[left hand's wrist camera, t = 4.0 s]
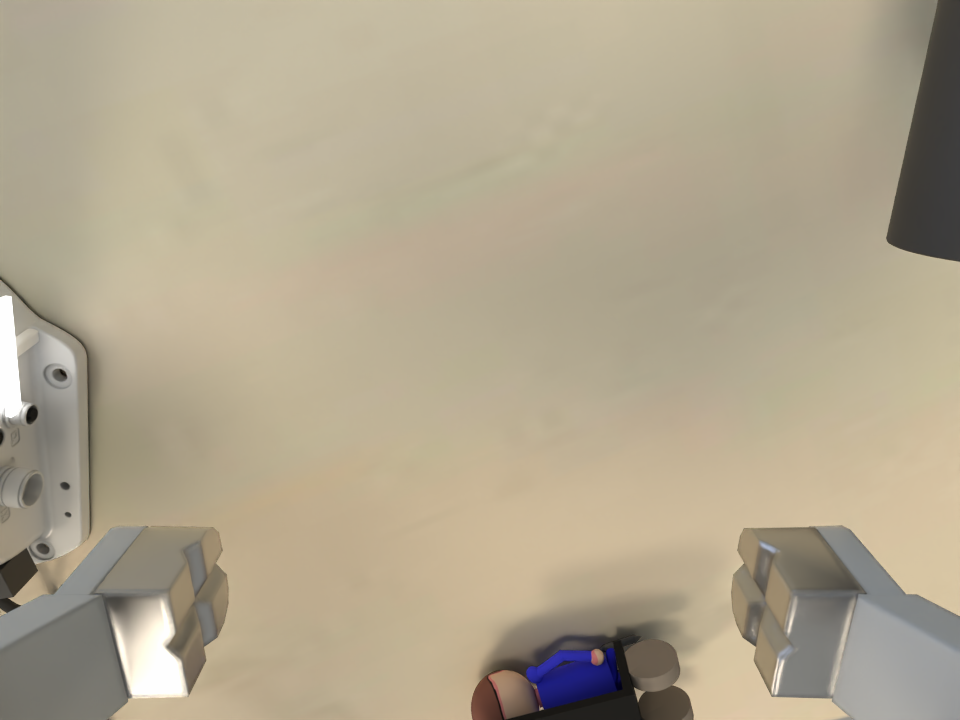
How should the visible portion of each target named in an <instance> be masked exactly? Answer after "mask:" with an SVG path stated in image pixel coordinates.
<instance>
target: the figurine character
mask: <svg viewBox="0 0 960 720" xmlns="http://www.w3.org/2000/svg"><path fill="white" fill-rule="evenodd" d="M641 637H642V636H636V635H631V636H628V637H625V638H622V639H619V640H616V641H613V642H610V643H607V644H604V645H603V646H602V647H601V648H600V649H594V650H592V651H578V650H560V651H559V652H557V653H556V654H554V655H553V656H552V657H550V658H549V659H548V660H546V661H545V662H544V663H542V664H541V665H540V666H538V667H535V666H531V667H529V668H528V669H527V671H526V675H527V678H528V679H529V681H531V682H532V683H535V684H536V685H537V689H535V690H534V688H533V686H532V685H531V683H530V682H529V681H528V680H527V679H526V678H525V677H524V676H522V675H521V674H519V673H517V672H514V671H510V670H498V671H495V672H492V673H490V674H488V675H487V676H485V677H484V678H483V679H482V680H481V681H480V682H479V684H478V685H477V687H476V689H475V691H474V694H473V697H472V702H471V712H472V718H473V720H693V717H694V716H693V711H692V706H691V702H690V699H689V696H688V695H687V693H686V692H685V691H683V690H682V689H680V688H678V687H676V686H672V685H673V684H674V683H675V682H676V680H677V679H678V677H679V675H680V666H679V662H678V658H677V654H676V651H675V649H674V648H673V647H672V646H671V645H670V644H668V643H667V642H664V641H661V640H654V639H651V640H644V641H640V642H638V643H636V642H637V641H638V640H639V639H640V638H641ZM633 643H636V644H634V645H632V646H631V647H630V648H629V649H628V650H627V651H626V652H625V653H624V650H623V647H624V646H627V645H630V644H633ZM614 650H615V651H614ZM603 652H606V657H605V655H604V653H603ZM606 658H607V660H606ZM616 660H617V663H616ZM563 661H575V662H572V663H569V664H566V665H563V666H560V667H557V666H558V665H559V664H561V663H562V662H563ZM617 664H618V670H617ZM555 667H557V668H555ZM634 687H635V688H636V689H639V690H642V691H646V692H645V693H643V695H642V696H641V697H640V699H639V702H638V701H637V698H636V694H635V690H634ZM539 706H540V708H541V707H543V708H544V710H541V711H539Z"/></svg>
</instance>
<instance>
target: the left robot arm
mask: <svg viewBox="0 0 960 720" xmlns="http://www.w3.org/2000/svg"><path fill="white" fill-rule="evenodd" d="M59 369H62V370H64V371H65V372H66V374H67V377H65V376H63V375H62V374H61V373H60V371H59ZM89 530H90V511H89V446H88V381H87V354H86V351H85V349H84V347H83V346H82V344H81V343H80V342H79V341H78V340H77V339H76V338H74V337H73V336H71V335H70V334H68V333H67V332H65V331H63V330H62V329H60V328H58V327H56V326H54V325H53V324H51V323H49V322H47V321H45V320H43V319H41V318H39V317H38V316H37V315H36V314H35V313H33V312H32V311H31V310H30V309H29V308H28V307H27V306H26V305H25V304H24V303H23V302H22V301H21V299H20V298H19V297H18V296H17V295H16V294H15V293H14V292H13V291H12V290H11V289H10V288H9V287H8V286H7V285H6V284H5V283H3V282H2V281H1V280H0V609H2V610H3V611H5V612H6V614H4V615H2V616H0V720H107V719H108V718H110V717H111V716H112V715H113V714H114V713H115V712H117V711H118V710H119V709H120V708H121V707H122V706H124V705H125V704H126V703H127V702H128V698H162V697H188V696H189V694H190V692H191V690H192V688H193V686H194V684H195V682H196V680H197V678H198V676H199V674H200V672H201V670H202V668H203V666H204V664H205V662H206V656H205V650H204V647H205V646H206V645H207V644H209V643H210V642H212V641H213V640H214V639H216V638H217V637H218V635H219V633H220V631H221V628H222V626H223V624H224V621H225V617H226V612H227V608H228V596H229V587H228V581H227V574H226V573H225V572H224V571H223V570H222V569H221V568H220V567H219V566H218V565H217V564H216V562H217V560H218V558H219V556H220V554H221V553H222V551H223V550H222V545H221V540H220V535H219V532H218V531H217V530H216V529H215V528H213V527H173V526H150V527H148V526H118V527H115V528H112V529H110V530H109V531H108V532H107V533H106V535H105V536H104V537H103V538H102V539H101V540H100V542H99V543H98V544H97V545H96V546H95V547H94V548H93V550H92V551H91V552H90V553H89V554H88V555H87V557H86V558H85V559H84V560H83V561H82V562H81V563H80V565H79V566H78V567H77V568H76V569H75V570H74V572H73V573H72V574H71V575H70V576H69V577H68V579H67V580H66V581H65V582H64V583H63V584H62V585H61V587H60V588H59V589H58V590H57V591H56V592H55V594H51V595H41V596H39V597H37V598H35V599H33V600H31V601H30V602H28V603H26V604H24V605H22V606H21V605H18V604H16V603H14V602H13V601H11V600H10V599H8V598H11V597H14V596H15V595H16V594H17V593H18V592H19V591H20V589H21V588H22V587H23V586H24V585H25V584H26V583H27V582H28V581H29V580H30V579H31V578H32V577H33V576H34V574H35V573H36V572H37V571H38V569H37V567H36V565H35V564H38V563H43V562H46V561H50V560H53V559H56V558H59V557H61V556H63V555H66V554H68V553H69V552H71V551H73V550H74V549H76V548H77V547H79V546H80V545H81V544H82V543H83V542H85V541H86V540H87V539H88V537H89ZM44 544H46V545H47V546H48V547H47V546H46V545H44ZM737 551H738V553H739V554H740V556H741V558H742V560H743V562H744V564H743V565H742V566H741V567H740V568H739V569H738V570H737V571H736V572H735V573H734V574H733V582H732V590H731V597H732V609H733V614H734V617H735V621H736V624H737V626H738V629H739V631H740V633H741V635H742V637H743V638H744V639H746V640H747V641H748V642H750V643H751V644H753V645H754V646H755V647H756V650H755V656H754V662H755V664H756V666H757V668H758V670H759V672H760V674H761V676H762V678H763V680H764V682H765V684H766V686H767V688H768V690H769V692H770V694H771V696H772V697H797V698H832V702H833V703H834V704H836V705H837V706H838V707H839V708H840V709H841V710H843V711H844V712H845V713H846V714H847V715H848V716H850V717H851V718H852V719H853V720H960V616H958V615H956V614H954V613H952V612H950V611H948V610H946V609H944V608H942V607H940V606H938V605H936V604H934V603H932V602H930V601H929V600H927V599H925V598H923V597H921V596H919V595H909V594H905V592H904V591H903V590H902V589H901V588H900V587H899V585H898V584H897V583H896V582H895V581H894V580H893V579H892V577H891V576H890V575H889V574H888V573H887V572H886V570H885V569H884V568H883V567H882V566H881V565H880V564H879V562H878V561H877V560H876V559H875V558H874V557H873V555H872V554H871V553H870V552H869V551H868V550H867V548H866V547H865V546H864V545H863V544H862V543H861V542H860V540H859V539H858V538H857V537H856V536H855V535H854V533H853V532H852V531H851V530H850V529H848V528H846V527H844V526H842V525H841V526H810V527H794V528H744V529H743V531H742V533H741V535H740V539H739V544H738V550H737Z"/></svg>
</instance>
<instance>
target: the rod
mask: <svg viewBox="0 0 960 720" xmlns="http://www.w3.org/2000/svg"><path fill="white" fill-rule="evenodd" d="M886 239H887V242H888V243H889V244H891V245H893V246H895V247H897V248H900V249H903V250H906V251H909V252H913V253H917V254H921V255H925V256H930V257H935V258H941V259H947V260H953V261H960V0H938V4H937V9H936V13H935V18H934V23H933V27H932V32H931V36H930V41H929V45H928V50H927V55H926V59H925V64H924V68H923V73H922V77H921V82H920V87H919V91H918V96H917V100H916V105H915V109H914V114H913V119H912V123H911V128H910V132H909V137H908V141H907V146H906V151H905V155H904V160H903V164H902V169H901V173H900V178H899V183H898V187H897V192H896V196H895V201H894V205H893V210H892V214H891V219H890V224H889V228H888V233H887V237H886Z"/></svg>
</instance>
